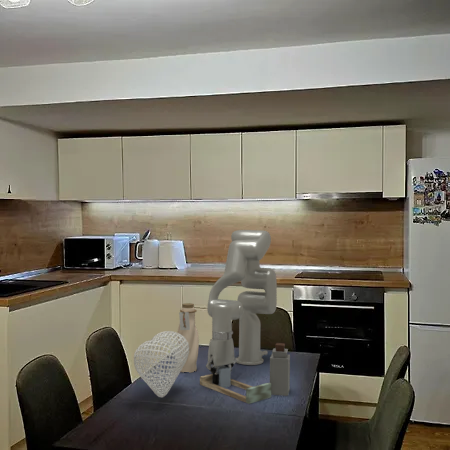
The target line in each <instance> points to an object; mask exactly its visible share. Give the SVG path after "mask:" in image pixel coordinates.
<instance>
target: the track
mask: <svg viewBox="0 0 450 450" xmlns="http://www.w3.org/2000/svg"><path fill="white" fill-rule="evenodd" d="M199 385H200V386H203V387H205V388H207V389H210V390H212V391H214V392H215V391H216V392H218V393H221V394H223V395H226V396H228V397H230V398H233V399H235V400H238V401H241V402H244V403H246V404H248V405H249V404H253V403H256V402H260V401H263V400H267V399H270V398H272V395H271V383H270V382H267V383H262V384H259V385H249V384H247V383H244V382H241V381H238V380H236V379H232V378H231V385H232V386H235V387H237V388H240V389H243V390H245V395H243V394H241V393H238V392H235V391H233V390H231V389H228V388H226V387H225V388H223V387H220V386H218V385H215V384H212V373H209V374H205V375H201V376H199Z"/></svg>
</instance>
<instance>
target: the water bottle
mask: <svg viewBox="0 0 450 450" xmlns="http://www.w3.org/2000/svg"><path fill="white" fill-rule="evenodd" d="M181 305H182V306H181V309H180V310H179V313H178V314H179V324H178V327H177V333H179V334H181V335H182V336H183V337H184V338H185V339H186V340H187V342H188V344H189V354H188V358H187V360H186V359H185V360H186V363H185V364H184V366H183V368H182V370H181V371H180V373H184V372H189V374H190V373H194V371H195V372H196V371H197V361H198V356H199V350H200V349H199V343H200V339H199V338H200V337H199V331H198V328H197V325H196V313H197V309H196V308H195V304H194V303H191V302H189V303H188V302H186V303H182V304H181ZM177 338H178V339H179V337H178V336H177ZM181 339H182V338H181ZM183 341H184V340H183ZM187 342H186V343H187ZM178 343H179V344H180V342H179V341H178ZM181 343H182V341H181ZM183 346H184V343H183ZM181 348H182V346H181ZM186 348H187V346H186ZM179 349H180V347H179ZM179 349H178V350H179ZM184 349H185V348H184ZM184 349H183V351H184ZM180 350H181V349H180ZM185 351H186V349H185ZM183 353H184V352H183ZM187 353H188V351H187ZM181 354H182V352H181ZM181 354H180V356H181ZM184 357H185V356H184ZM182 359H183V357H182ZM180 367H181V366H180Z"/></svg>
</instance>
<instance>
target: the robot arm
mask: <svg viewBox="0 0 450 450" xmlns="http://www.w3.org/2000/svg"><path fill="white" fill-rule="evenodd" d="M230 239H231V242H230V244H229V245H228V250H227V257H226V263H225V268H224V273H223V274H222V276H221V277H219V278H218V279H217V280H216V282H214V284H213V286H212V287H211V289H210V291H209V296H208V301H207V306H206V307H207V314H208V316H209V317H211V318H212V319H211V325H212V326H211V339H210V341H209V344H208V351H207V363H206V365H205V368H206V369H208V370H209V372H210V374H212V382H213V383H214V384H216V385H219V374H218V370H219V366H226V367H229V368H231V372H232V370H233V367H234V366H235V364H240V365H242V366H243V365H245V366H257V365H261V364H263V363H264V358H263V356H267V355H268V350H261V328H262V327H261V325H262V324H261V320H260V318H259V316H258V315H257V314H261V315H264V314H265V315H272V314H274V313H275V312H276V310H277V301H278V299H277V298H278V297H277V294H278V293H277V287H278V286H277V284H278V283H277V274H276V271H275V270H274V269H272V268H271V267H270V268H269V267H261V265H260V263H261V262H260V261H261V260H262V259H263V258H264V257H265V255H266V253H267V252H268V250H269V249H270V246H271V243H272V237H271V234H270V232H269V231H268V230H263V229H261V230H260V229H259V230H257V229H238V230H237V229H236V230H234V231H232V233H231V236H230ZM237 283H241V286H242V287H243V288H245V289H250V291H249V290H246V291H242V292H241V293H239V294H238V295H237V300H233V299H220V298H219V296H220V294H221V293H222V292H223V291H224V289H226V288H228V287H230V286H232V285H235V284H237ZM251 289H253V290H264V291H253V290H252V291H251ZM234 320H235V321H236V320H239V322H238V326H239V328H238V329H239V330H238V331H239V332H238V333H239V335H238V337H239V338H238V357H235V348H234V347H235V346H234V345H235V344H234V340H233V338H232V335H233V334H234V331H233V330H232V329H233V324H232V322H233V321H234ZM215 367H216V369H215Z"/></svg>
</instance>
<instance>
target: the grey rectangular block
mask: <svg viewBox="0 0 450 450" xmlns="http://www.w3.org/2000/svg"><path fill="white" fill-rule="evenodd" d="M215 369H216V367H215ZM231 373H232V371H231V368H229V367H226V366H224V365H223V366H219V370H218V374H219V385H218V386H220V387H223V388H225V389H226V388H228V387H229V388H230V387H231V379H232V378H231V375H232V374H231ZM212 384H214V383H213V382H212ZM215 385H216V384H215Z"/></svg>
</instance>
